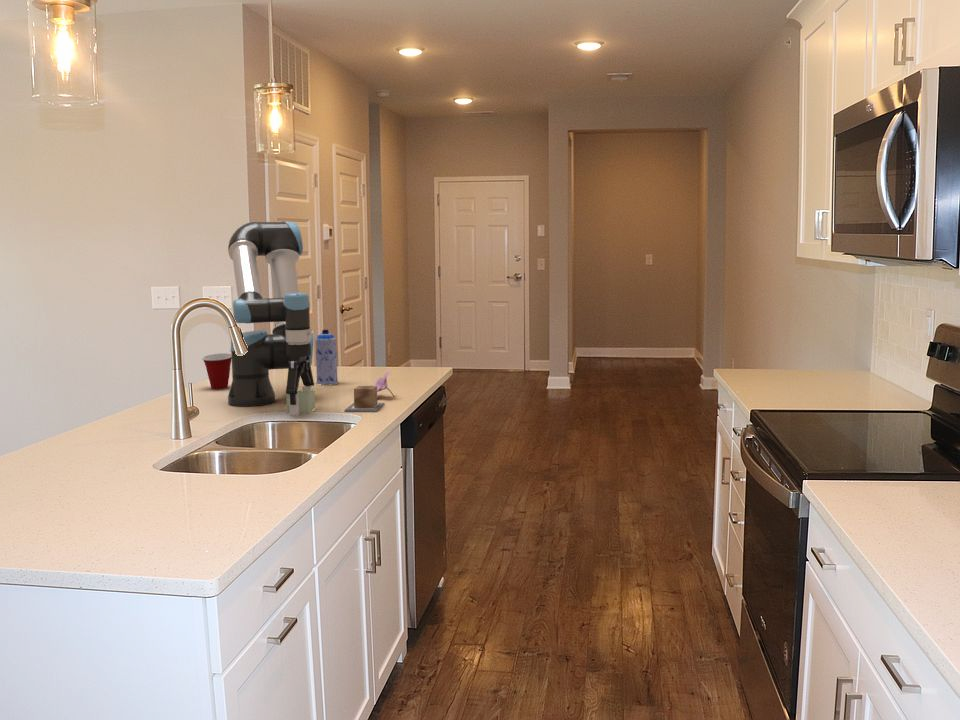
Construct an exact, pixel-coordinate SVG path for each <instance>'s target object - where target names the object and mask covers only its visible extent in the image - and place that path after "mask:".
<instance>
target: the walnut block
mask: <svg viewBox="0 0 960 720" xmlns="http://www.w3.org/2000/svg"><path fill="white" fill-rule="evenodd" d="M353 403H354V408H374V407H375V406H376V405H377V403H378V392H377V386H375V385H357V386H356V387H354V388H353Z"/></svg>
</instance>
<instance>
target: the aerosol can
mask: <svg viewBox="0 0 960 720" xmlns="http://www.w3.org/2000/svg"><path fill="white" fill-rule="evenodd" d="M321 331H322V332H321V333H320V334H318V335H317V337H315V339H314V340H315V341H314V342H315V362H316V363H315V366H316V385H317V384H321V385H320V386H331V385H330V384H335V385H337V384H336V383H338V384H339V381H338V357H337V353H338V352H337V339H336V337H335V336H334V334H332V333H330V332H329V329H327V328H326V329H322V330H321Z"/></svg>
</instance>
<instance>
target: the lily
mask: <svg viewBox="0 0 960 720" xmlns="http://www.w3.org/2000/svg"><path fill="white" fill-rule="evenodd" d="M391 370H392V369H387V370H386V372H385V373H384V375H383V377H378V378H377V379H376V381H375V382H374V386H377V393H378V392H381V391H383V390H387V391H388V392H390V394H391V395H392V397H393V398H395V395H394V394H393V392H392V391H391V390H390V389H389V387H388V383H387V377H388V375H389V374H390V372H391Z"/></svg>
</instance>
